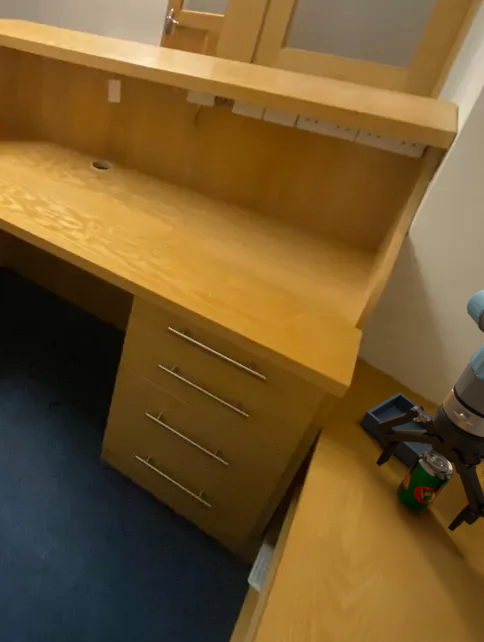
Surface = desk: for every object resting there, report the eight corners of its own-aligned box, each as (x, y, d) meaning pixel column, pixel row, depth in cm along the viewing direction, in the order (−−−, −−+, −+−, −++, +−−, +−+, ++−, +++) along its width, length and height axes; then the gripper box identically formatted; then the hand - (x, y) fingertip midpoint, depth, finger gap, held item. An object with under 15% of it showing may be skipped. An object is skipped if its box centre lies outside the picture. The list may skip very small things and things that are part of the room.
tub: (446, 446, 104) (455, 433, 102) (413, 469, 99) (421, 457, 97) (392, 403, 112) (399, 391, 110) (359, 423, 108) (366, 411, 106)
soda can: (401, 481, 97) (427, 443, 91) (431, 503, 94) (460, 465, 88) (390, 497, 95) (415, 459, 89) (420, 520, 91) (449, 482, 85)
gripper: (381, 372, 90) (342, 444, 101) (549, 498, 71) (478, 570, 82) (407, 357, 93) (366, 430, 104) (575, 475, 74) (503, 548, 85)
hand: (416, 492), depth 93 cm, fingers open, 12 cm apart
